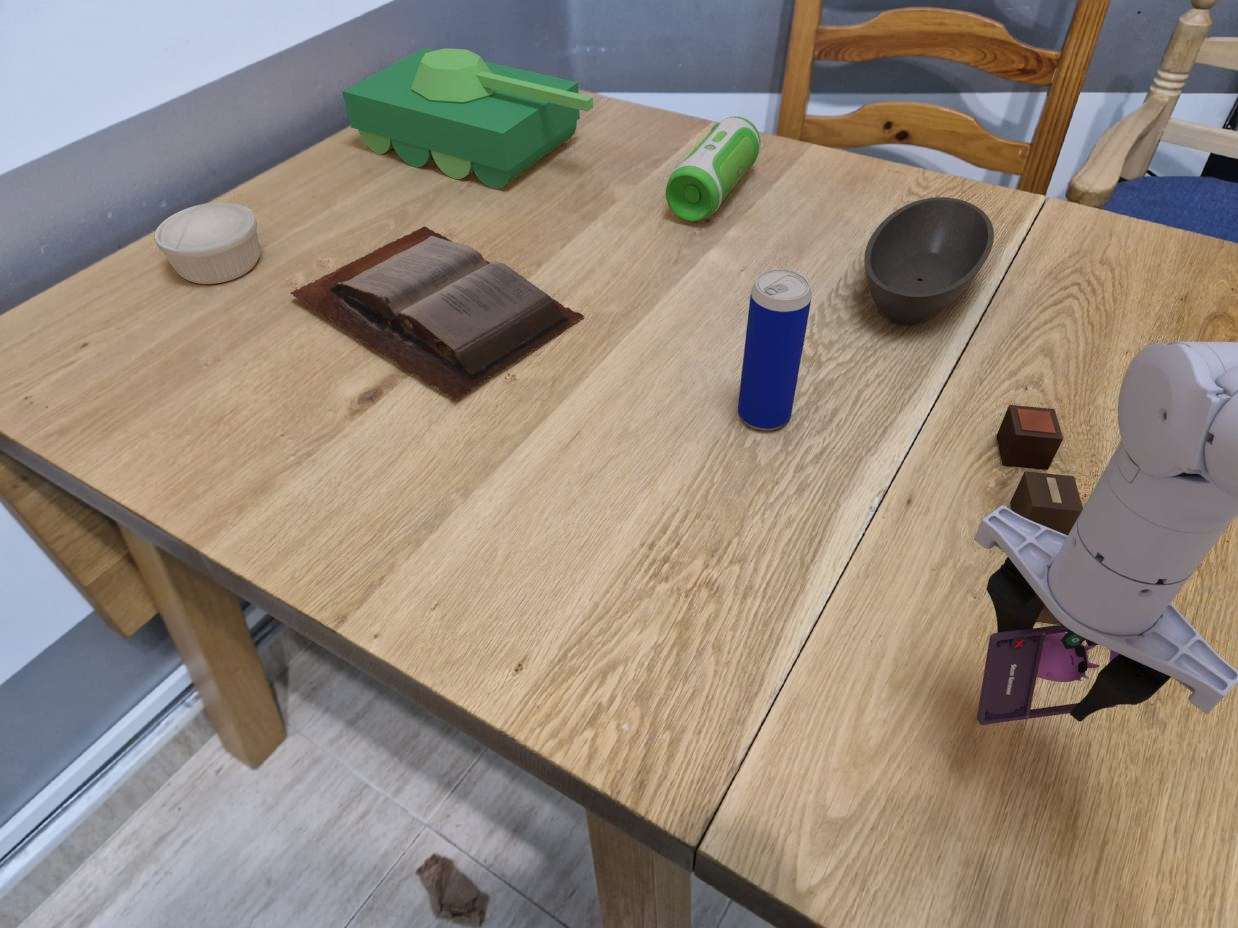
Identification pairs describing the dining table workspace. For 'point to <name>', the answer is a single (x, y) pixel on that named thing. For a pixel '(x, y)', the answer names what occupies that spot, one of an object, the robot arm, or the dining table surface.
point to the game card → (1030, 671)
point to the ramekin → (210, 242)
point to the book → (439, 309)
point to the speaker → (713, 169)
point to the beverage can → (773, 348)
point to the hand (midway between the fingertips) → (1046, 678)
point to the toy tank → (465, 114)
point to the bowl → (926, 257)
